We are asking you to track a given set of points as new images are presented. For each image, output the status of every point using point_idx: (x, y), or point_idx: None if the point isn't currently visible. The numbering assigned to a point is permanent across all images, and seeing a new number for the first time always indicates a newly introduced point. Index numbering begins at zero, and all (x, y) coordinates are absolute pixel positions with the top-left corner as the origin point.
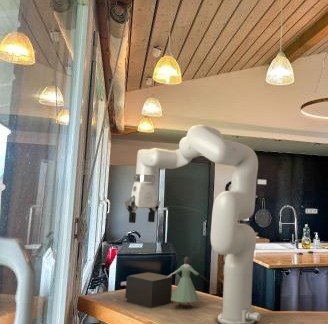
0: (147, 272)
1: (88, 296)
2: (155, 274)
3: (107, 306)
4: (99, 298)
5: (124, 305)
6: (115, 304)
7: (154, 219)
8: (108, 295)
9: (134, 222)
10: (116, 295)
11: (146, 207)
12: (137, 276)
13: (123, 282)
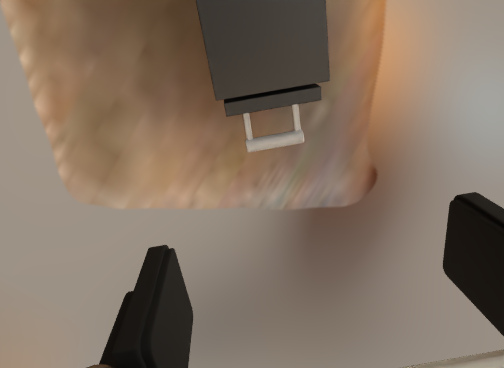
0: (222, 97)
1: (352, 191)
2: (217, 29)
3: (381, 52)
4: (343, 153)
5: (338, 25)
6: (351, 57)
7: (144, 264)
8: (305, 169)
9: (468, 193)
10: (288, 155)
11: (453, 360)
12: (309, 41)
13: (299, 134)
